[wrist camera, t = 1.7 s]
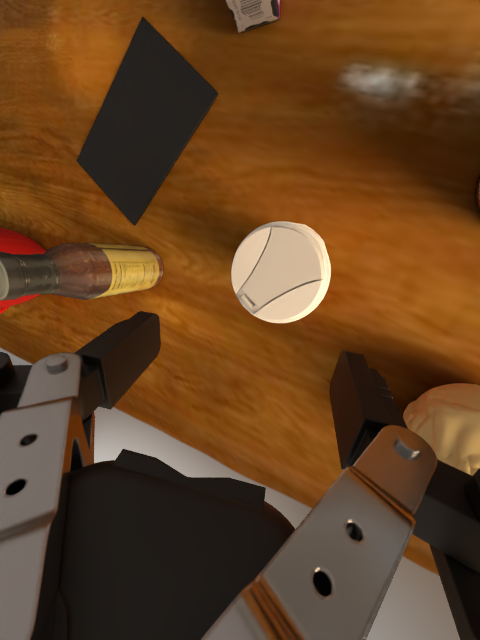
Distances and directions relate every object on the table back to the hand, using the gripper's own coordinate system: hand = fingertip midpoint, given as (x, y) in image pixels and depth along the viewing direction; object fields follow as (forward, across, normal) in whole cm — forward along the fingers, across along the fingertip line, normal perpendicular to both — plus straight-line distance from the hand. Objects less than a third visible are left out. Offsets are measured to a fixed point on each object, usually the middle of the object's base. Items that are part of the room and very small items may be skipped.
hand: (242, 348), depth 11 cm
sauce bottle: (+26, +19, +6) cm, 32 cm away
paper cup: (+22, -3, +2) cm, 23 cm away
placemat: (+30, +22, -12) cm, 39 cm away
